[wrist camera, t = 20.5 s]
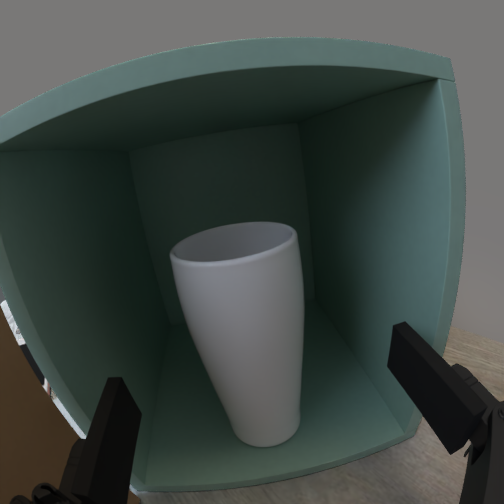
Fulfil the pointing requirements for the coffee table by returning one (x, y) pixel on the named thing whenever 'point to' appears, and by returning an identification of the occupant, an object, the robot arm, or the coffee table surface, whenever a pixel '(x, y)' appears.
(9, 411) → the fridge door
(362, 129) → the box
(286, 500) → the coffee table surface
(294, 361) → the drinking glass
